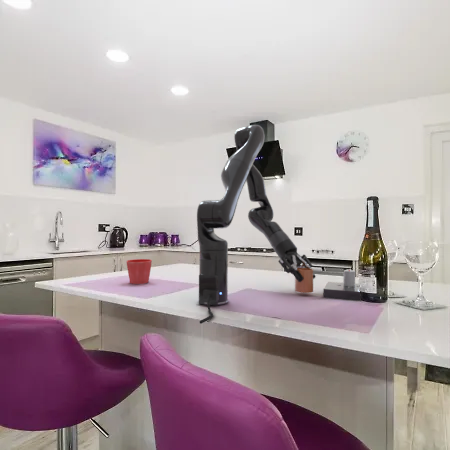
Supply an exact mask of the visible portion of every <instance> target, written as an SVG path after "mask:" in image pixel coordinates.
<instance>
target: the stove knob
mask: <svg viewBox="0 0 450 450" xmlns="http://www.w3.org/2000/svg"><path fill="white" fill-rule="evenodd" d="M343 283H344V286H348V287H354V286H355V284H356V270H353V269H351V268H349V269H345V270H343Z"/></svg>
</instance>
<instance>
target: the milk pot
mask: <svg viewBox="0 0 450 450" xmlns="http://www.w3.org/2000/svg"><path fill="white" fill-rule="evenodd" d="M297 270H298V271H299V272H300V274H301V275H302V276H303V278H304V279H303V280H302V281H301V282H298V280H297V279H296V278H295V277H294V291H295V292H297V293H303V294H311V293H313V292H314V279H313V273H314V269H313V268H312V267H311V268H305V267H304V268H298V267H297Z"/></svg>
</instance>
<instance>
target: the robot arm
mask: <svg viewBox="0 0 450 450" xmlns="http://www.w3.org/2000/svg"><path fill="white" fill-rule="evenodd" d="M233 137H234V139H233V140H234V144H235V148H236V152H234V153H233V154H232V155H231V156H230V157H229V158H228V159H227V160H226V163H225V164H224V166H223V168H222V170H221V174H220V178H221V183H222V186H223V188H224V190H225V192H224V195H223V196H222V198H220V199H207V200H206V199H205V200H202V201H200V203H199V204H198V206H197V210H196V229H197V241H198V246H199V248H198V249H199V255H198V256H199V261H198V262H199V263H198V264H199V266H198V270H199V271H198V273H199V275H198V304H199V305H204V306H206V307H207V310H208V314H209V315H208V316H207V317H205V318H203V319H201V320H200V321H199V324H203V323H205V322H207V321H209V320H211V319H212V318H213V317H214V313H213V312H212V309H211V306H214V307H217V306H221V305H227V304H228V303H229V299H228V296H229V295H228V294H229V291H228V289H229V288H228V287H229V286H228V285H229V283H228V282H229V281H228V279H229V274H228V273H229V243H228V241H227V240H226V239H224V238H221V237H220V236H218V235H217V234H216V233H215V229H216V230H217V229H219V230H220V229H227V228H229V227H230V225H231V224H232V222H233V220H234V217H235V213H236V209H237V206H238V202H239V199H240V197H241V194H242V191H243V189H244V186H245V184H246V185H247V192H248V198H249V201H250V202H253V203H258V204H259V206H257V207H254V208H251V209H250V210H249V211H248V213H247V219H248V221H249V223H250V224H251V225H252V226H253V227H254V228H255V229H256V230H258V231H259V232H260V233H261V234H263V236H264V237H265V239H266V240H267V242H269V244H270V247H271V248H272V249H273V251H274V252H275V253H276V255H277V256H278V258H279V260H278V263H279V264H280V266H281V267H282V268H283V269H284V271H285V272H286V273H287V274H292V275H293V277H294V279H295V278H296V279H297V280H298V282H301V281H302V280H303V279H304V278H303V276H302V275H301V274H300V272H299V271H298V270H297V268H311V269H312V268H313V264H312V262H311V261H310V259H309V258H308V256H307V255H306V254H302V255H301V254H300V253H298V247H297V246H296V245H295V243H294V242H293V240H292V239H291V238H290V237H289V235H288V234H287V233H286V232H285V231H284V229H283V228H282V227H281V226H280V224H279V223H278V222H276V221H273V220H274V213H275V212H274V209H273V207H272V205H271V202H270V200H269V198H268V195H267V191H266V185H265V180H264V177H263V176H262V174H261V172H260V171H259V170H258V168H257V167H256V166H255V165H254V162H255V159H256V158H257V156H258V154H259V152H260V151H261V150H262V147H263V146H264V143H265V130H264V128H263V127H262V126H261V125H259V124H252V125H249V126H248V125H247V126H243V127H240V128H237V129H236V130H235V131H234V136H233ZM316 276H317V275H316V274H315V273H314V272H313V280H314V279H316V278H317V277H316Z"/></svg>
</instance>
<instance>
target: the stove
mask: <svg viewBox="0 0 450 450" xmlns="http://www.w3.org/2000/svg"><path fill="white" fill-rule="evenodd" d="M359 284H360V283H355V286H354V287H348V286H344V282H340V281H339V282H338V281H327V283H326V285H325V286H324V288H323V295H322V296H323V298H324V299H334V300H335V299H337V300H348V301H359V302H362V301H361V300H362V295H361V296H360V291H359Z"/></svg>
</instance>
